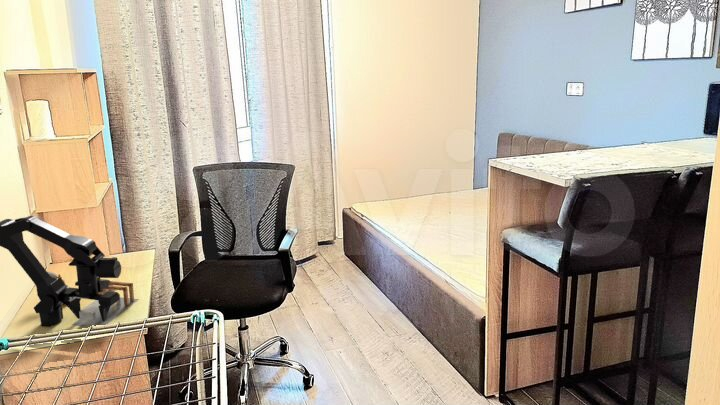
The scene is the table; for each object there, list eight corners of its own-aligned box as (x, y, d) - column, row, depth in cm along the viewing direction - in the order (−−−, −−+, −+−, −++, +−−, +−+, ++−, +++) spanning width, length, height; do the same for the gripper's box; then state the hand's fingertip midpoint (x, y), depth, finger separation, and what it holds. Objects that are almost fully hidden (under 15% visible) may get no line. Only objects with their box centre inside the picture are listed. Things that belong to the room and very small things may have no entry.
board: (101, 330, 170) (101, 328, 169) (71, 327, 171) (71, 325, 171) (139, 301, 191) (139, 299, 191) (112, 298, 192) (112, 296, 192)
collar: (127, 306, 185) (125, 288, 183) (103, 304, 186) (102, 285, 184) (128, 305, 186) (127, 287, 184) (105, 302, 187) (103, 284, 185)
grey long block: (94, 326, 170) (93, 312, 169) (80, 325, 171) (78, 310, 169) (121, 306, 185) (120, 293, 183) (107, 305, 185) (106, 292, 184)
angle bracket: (132, 302, 188) (131, 284, 186) (109, 299, 189) (108, 282, 188) (134, 301, 189) (132, 283, 187) (111, 298, 190) (109, 280, 189)
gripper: (127, 270, 175) (131, 311, 179) (77, 265, 178) (82, 306, 182) (107, 283, 165) (111, 326, 168) (54, 278, 167) (60, 321, 171)
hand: (91, 319), depth 173 cm, fingers open, 9 cm apart
